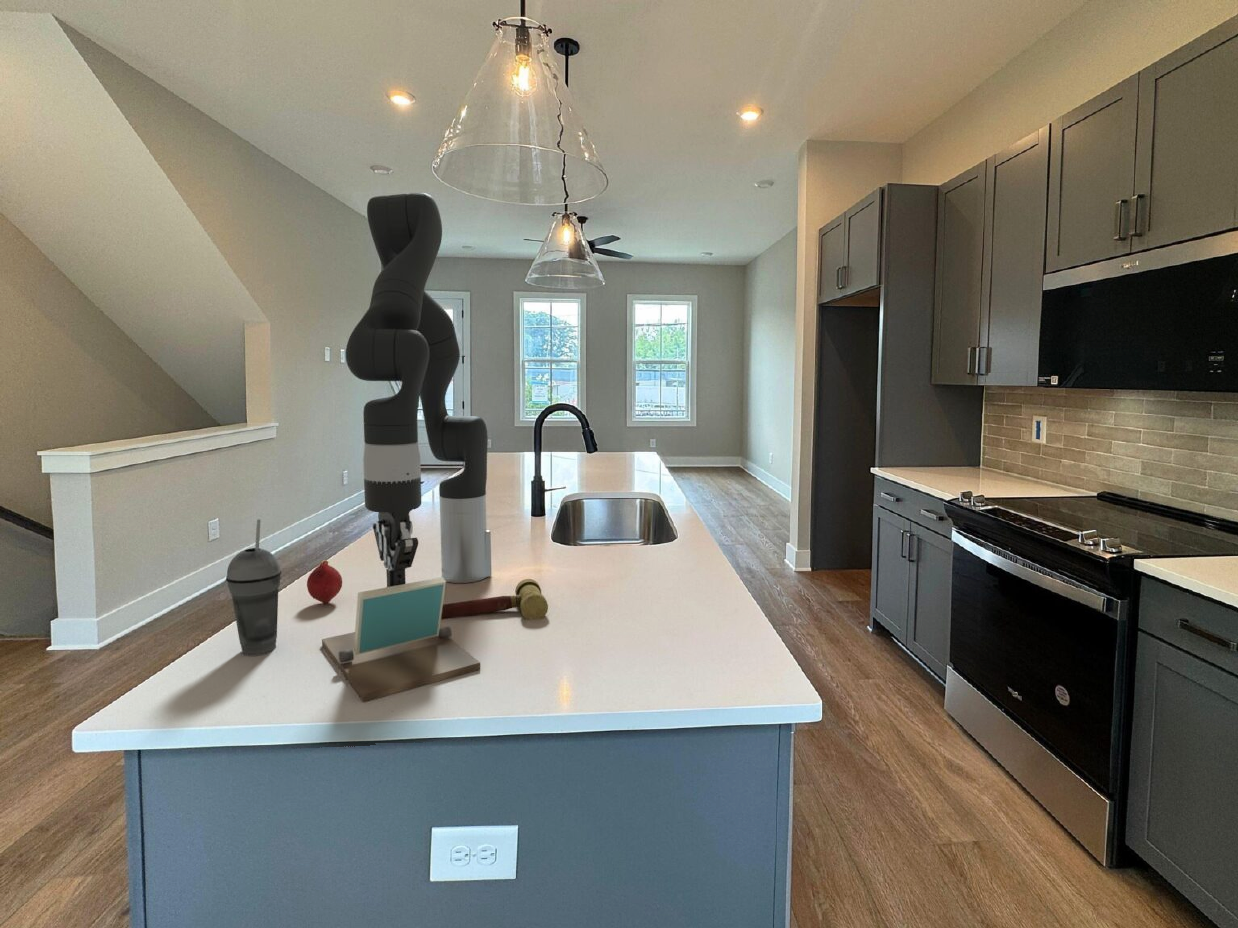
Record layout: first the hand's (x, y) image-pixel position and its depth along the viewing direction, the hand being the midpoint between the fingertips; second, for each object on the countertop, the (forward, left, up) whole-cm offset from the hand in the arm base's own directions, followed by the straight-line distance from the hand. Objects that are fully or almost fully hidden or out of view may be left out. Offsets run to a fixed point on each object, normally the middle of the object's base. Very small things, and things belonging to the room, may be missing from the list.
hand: (396, 593), depth 94 cm
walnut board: (0, -1, -10) cm, 10 cm away
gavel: (-18, -11, -11) cm, 24 cm away
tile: (0, 0, -3) cm, 3 cm away
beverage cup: (+16, -16, -10) cm, 25 cm away
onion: (+3, -32, -10) cm, 34 cm away
